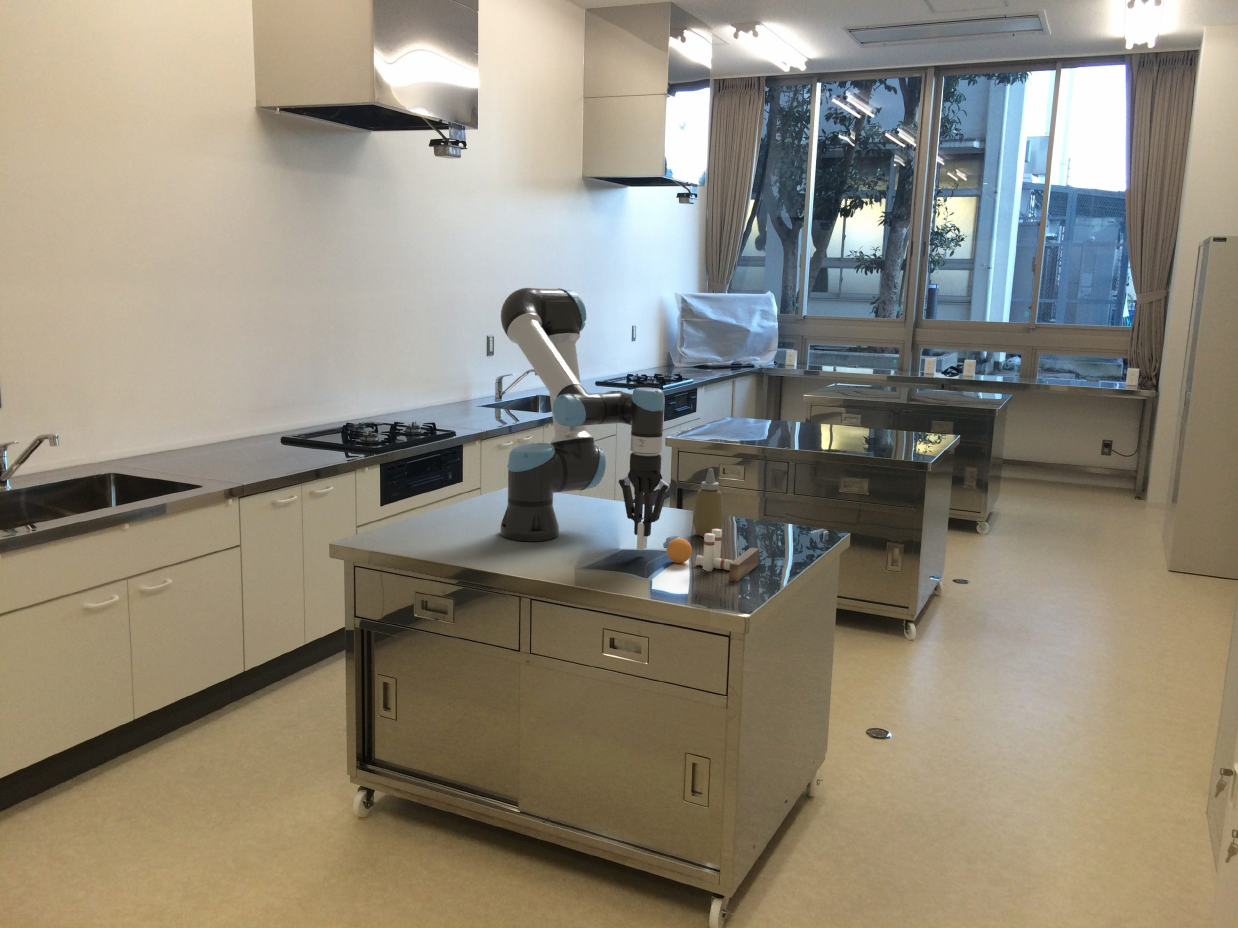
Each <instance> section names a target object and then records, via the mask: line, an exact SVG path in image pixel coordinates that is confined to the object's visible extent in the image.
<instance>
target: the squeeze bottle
mask: <svg viewBox="0 0 1238 928" xmlns="http://www.w3.org/2000/svg"><path fill="white" fill-rule="evenodd" d="M714 473H715V471H714V469H713V468H708V471H707V473H706V477H705V480H704V481H703V480H702V481H701V483H700V485H701V486H700V489H699V490H697V493H696V499H695V505H694V510H693V518H692V523H693V526H694V531H695V534H697V535H696V536H698V535H700V536H699V537H701V536H705V534H706V533H711V534H712V529H721V530H722V527H723V525H724V515H723V512H724V511H723V493H722V492H721V490H719V489H720V487H719V486H720V483H719V482H717V481H716V480H715V474H714Z"/></svg>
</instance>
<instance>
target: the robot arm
mask: <svg viewBox="0 0 1238 928" xmlns="http://www.w3.org/2000/svg"><path fill="white" fill-rule="evenodd" d="M501 306H502V307H501V310H500V322H501V327H502V329H503V331H504V333H505V334H506V337H508V339H509V340H510V342H512V343H514V344H516V345H517V346H518V347H519V349H520V350H521V351H522V353H523V355H524V357H525V358H526V359H527V361H528V362H529V363H530V365H531V366H532V368H533V370H534V371H535V373H536V374H537V376H538V377H539V379H540V380H541V382H542V383H543V385H544V386H545V388H546V389H547V390H548V392H549V393H548V394H549V399H550V408H551V414H552V415H551V417H552V424H553V430H554V436H553V438H552V439H551V441H550V442H549V443H547V442H536V443H535V442H532V443H525V444H521V445H518V446H516V447H514V448H512V449H511V450H510V452H509V454H508V463H507V470H508V472H507V475H508V476H507V506H506V509H505V512H504V515H503V518H502V521H501V524H500V532H499V533H500V536H502V538H505V539H507V540H513V541H519V542H542V541H549V540H554V539H556V538H557V537H559V535H560V527H559V523H558V519H557V516H556V512H555V509H554V493H564V492H565V493H566V492H572V491H573V492H574V491H584V490H588V489H592V488H595V487H598V485H599V484H600V483H601V481H602V480H603V478H604V477H605V473H606V469H607V468H606V467H607V459H606V454H605V451H603V449H602V447H601V446H600V445H597V444H595V438H594V436H593V435H592V434H590V433H589V432H588V429H587V426H593V425H594V426H595V425H610V424H611V425H613V424H623V425H628V426H630V427H631V428H630V429H631V430H630V431H631V432H630V449H629V450H630V451H631V453H630V454H629V455H630V456H629V472H628V473H627V476H625V477H623V478H621V479H619V480H618V484H619V485H620V488H621V490H622V496H623V500H624V507H625V511H626V517H627V519H629V520H632V521H633V523H634V526H633V527H634V528H633V533H634V535H635V536H636V550H638V551H643V550H645V549H647V548H648V547H647V546H648V537H650V536H651V532H652V523H655V522H657V521H659V519H660V517H661V513H662V510H663V506H664V502H665V500H666V496H667V493H668V491H669V490H670V489H671V487H672V485H671V483H669V482H666V481H664V480H663V475H662V473H661V470H662V469H661V468H662V455H661V453H662V452H663V432H664V430H663V429H664V414H665V413H664V412H665V395H664V391H663V390H662V389H660V388H657V387H656V388H655V387H636V388H634V389H633V390H632V393H630V392H624V391H622V390H607V391H606V392H602V393H601V392H598V393H590V392H589V393H588V391H586V389H585V388H584V386H583V385H582V384H581V377H580V369H579V362H578V353H577V346H576V345H577V344H576V343H577V342H578V341H579V340H580V338H581V333H580V332H582V331H583V330H584V328H585V327H586V321H587V310H586V306H585V303H584V300H583V299H582V298H581V296H580V295H579V294H577V292H576V291H573V290H570V289H563V288H531V287H524V288H519V289H517V290H514V291H513V292H511V293H510V294H509V295H508V296H507V297H506V298H505V300H504V302H503V304H502V305H501ZM631 486H632V487H633V489H634V492H632V487H631ZM657 487H658V489H659V491H658V492H657V496H656V499H655V503H654V495H655V489H656V488H657ZM633 494H634V497H633ZM653 505H654V507H653Z"/></svg>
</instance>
